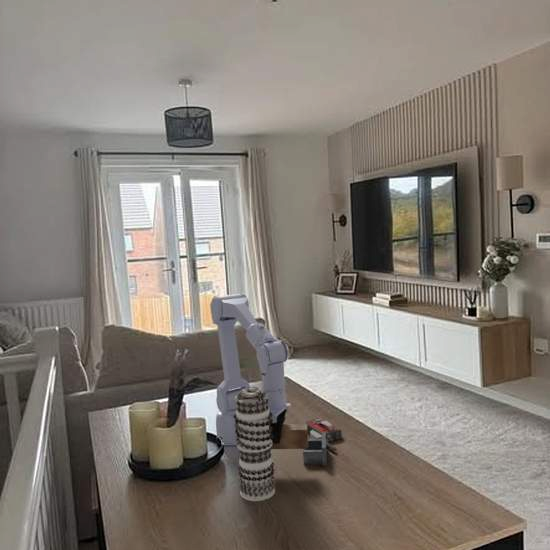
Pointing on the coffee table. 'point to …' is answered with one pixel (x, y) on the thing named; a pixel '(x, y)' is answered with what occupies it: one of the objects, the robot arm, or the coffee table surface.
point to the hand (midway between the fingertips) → (276, 439)
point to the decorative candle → (254, 444)
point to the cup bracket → (316, 451)
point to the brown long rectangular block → (293, 437)
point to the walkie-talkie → (323, 426)
